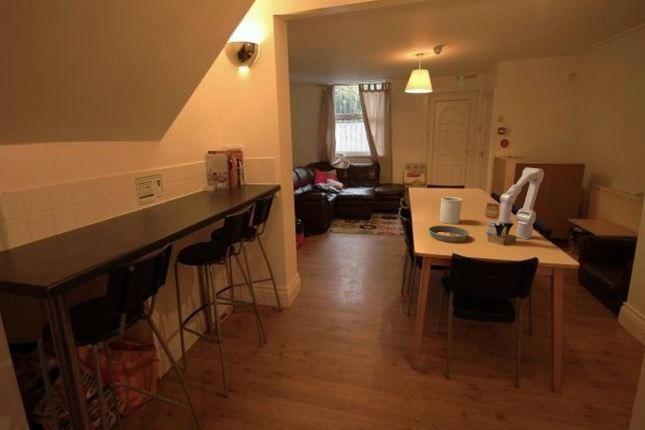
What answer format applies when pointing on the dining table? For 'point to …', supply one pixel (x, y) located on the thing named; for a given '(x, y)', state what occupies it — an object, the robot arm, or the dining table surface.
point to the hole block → (502, 239)
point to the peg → (504, 232)
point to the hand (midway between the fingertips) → (502, 235)
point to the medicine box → (491, 228)
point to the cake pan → (451, 230)
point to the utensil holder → (450, 210)
